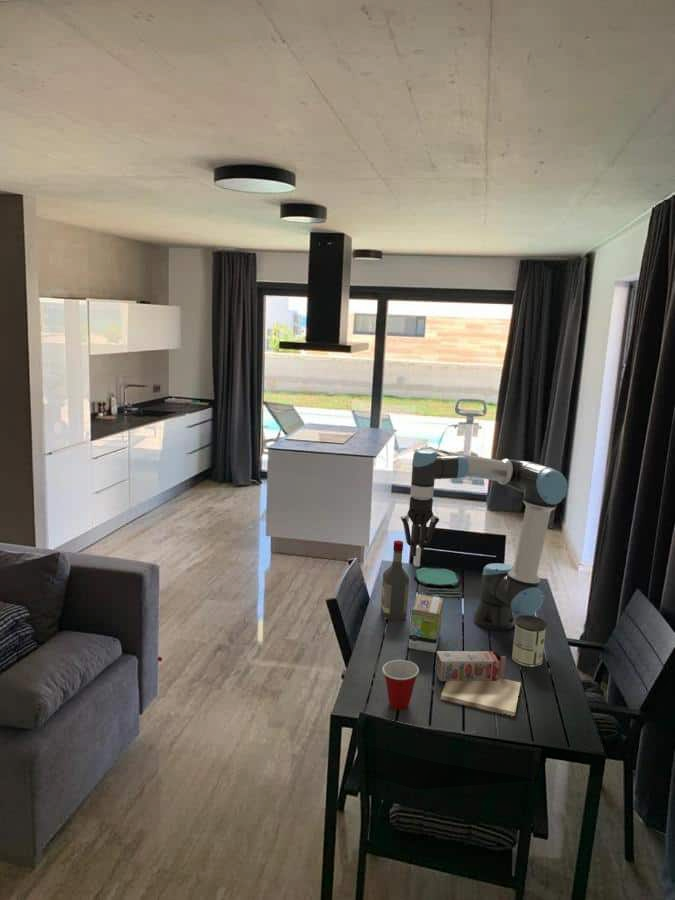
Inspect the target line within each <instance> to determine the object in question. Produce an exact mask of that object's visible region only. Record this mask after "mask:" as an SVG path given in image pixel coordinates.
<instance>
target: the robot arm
mask: <svg viewBox="0 0 675 900" xmlns="http://www.w3.org/2000/svg"><path fill="white" fill-rule="evenodd" d="M411 465H412V469H411V481H410V482H411V483H410V497H409V507H408V508H409V509H408V510H407V513H406V515H404V516H403V515H402V516H400V520H401V522H402V523H403V524H402V525H403V529H404V530H403V531H404V536H405V541H406V542H405V543H406V544H407V545H408V546H409V547H410V546H411V549H410V550H411V551H410V554H411V556H412V558H413V559H412V560H413V561H412V564H413V565H414V567H420V566H421V557H423V556H424V552H425V551H424V549H425V547H426V546H430V545H431V541H432V538H433V535H434V533H435V529H436V526H437V524H439V522H440V519H439V517H438V516H437V515H434V512H433V503H434V499H433V498H434V493H435V492H434V490H435V487H434V486H435V480H443V479H446V480H449V479H455V480H457V479H461V478H465V477H470V478H478V479H483V480H488V481H493V482H497V483H498V484H500V485H502V486H507V487H511V488H513V489H515V490H518V491H520V492H521V493H523V498H522V502H523V503H524V505H525V509H524V513H523V514H524V515H523V519H522V520H523V521H522V525H521V529H520V534H519V540H518V545H517V547H516V553H515V556H514V557H515V559H514V562H513V565H511V564H507V563H499V562H498V563H495V562H494V563H488V564H486V565H485V566H484V567H483V571H482V577H481V588H480V589H481V590H480V599H479V603H478V604H477V606H476V609H475V611H474V613H473V621H474V622H475V624H476V625H478V626H479V627H482V628H483V629H487V630H491V631H498V632H499V631H500V632H501V631H508V630H511V629H512V628H513V627H515V617H514V616H515V615H514V614H517V615H518V616H523V615H528V616H533V615H534V614H536V612H538V611H539V610H540V608H541V607H542V605H543V603H544V594H543V592H542V590H541V589H540V585H541V584H540V583H541V578H540V577H539V576H538V571H539V568H540V563H541V559H542V554H543V549H544V544H545V540H546V535H547V530H548V526H549V520H550V517H551V513H552V511H553V510H555V509H556V508H557V506H558V505H557V504H560V503H561V502H562V501H563V499H565V497H566V496H567V492H568V482H567V478H566V477H565V476H564V475H563V473H562V472H560V471H558V470H556V469H554V468H553V467H549V466H546V465H543V464H539V463H536V462H534V461H530V460H529V461H527V460H517V459H510V458H509V459H508V458H503V459H501V460H499V459H493V458H488V457H482V456H478V455H477V456H476V455H471V454H464V453H460V452H454V451H449V450H443V449H436V448H434V447H432V446H427V445H426V446H423V447H420V448H419V449H417V450H415V451H414V453H413V457H412V463H411ZM409 519H410V520H409ZM410 521H411V522H412V532H410V525H409V522H410ZM429 521H430V522H429ZM428 522H429V525H428V528H427V524H428ZM426 529H427V530H426ZM426 531H427V532H426Z"/></svg>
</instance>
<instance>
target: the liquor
mask: <svg viewBox="0 0 675 900" xmlns="http://www.w3.org/2000/svg"><path fill="white" fill-rule="evenodd" d="M403 551H404V541H402V540H394V541H393V555H392V563H391V565H390V566H389V567H388V568H387V569H386V570H385V571H384V572H383V574H382V584H381V585H382V586H381V587H382V588H381V598H380V599H381V601H380V613H381V614H382V615H381V616H382V617H383V619H384V618H386V619H385V620H387V619H388V620H387V621H390V620H391V621H403V620H405V619H406V618H407V616H408V615H407V614H408V605H409V604H408V602H409V601H408V600H409V590H410V589H409V588H410V577H409V575H408V573H407V572H406V571H405V569H404V568H403V564H402V563H403V562H402V561H403Z"/></svg>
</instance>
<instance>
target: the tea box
mask: <svg viewBox="0 0 675 900" xmlns="http://www.w3.org/2000/svg"><path fill="white" fill-rule="evenodd" d="M443 604H444V597H432V596H429V595H428V596H427V594H425V595H424V594H419V593H418V594H416V596H415V600H414V603H413V606H412V610H411V621H410V629H409V637H408V649H412V650H418V651H423V652H429V653H430V652H431V653H437V647H438V643H439V639H440V638H439V637H440V634H441V626H442V615H443V607H444V605H443Z"/></svg>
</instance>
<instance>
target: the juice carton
mask: <svg viewBox="0 0 675 900" xmlns="http://www.w3.org/2000/svg"><path fill="white" fill-rule="evenodd" d="M435 653H436V656H435V665H434V666H435V667H434V671H435V673H436V676H437V678H438V680H439V681H440V682H446V681H497V680H498V678H500V676H501V677H502V676H505V670H506V669H505V667H506V659H507V656H506V655H504V656H503V655H502V656H501V655H500V654H498V653H496V652H494V651H493V650H492V651H486V650H485V651H477V650H476V651H472V650H471V651H466V650H465V651H464V650H463V651H461V650H460V651H456V650H453V651H452V650H451V651H449V650H448V651H447V650H446V651H445V650H444V651H439V650H436V652H435Z"/></svg>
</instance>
